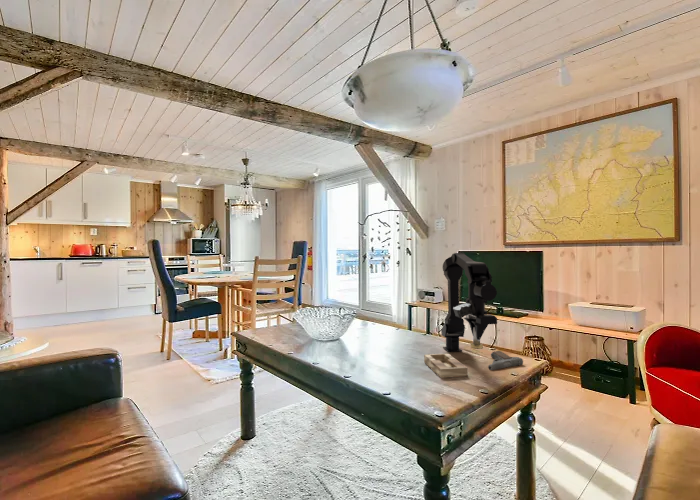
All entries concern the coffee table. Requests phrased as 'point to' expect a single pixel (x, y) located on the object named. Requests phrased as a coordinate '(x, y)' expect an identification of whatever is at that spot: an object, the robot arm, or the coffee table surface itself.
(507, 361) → the handgun
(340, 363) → the coffee table surface
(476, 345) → the peg
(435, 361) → the keyhole board
